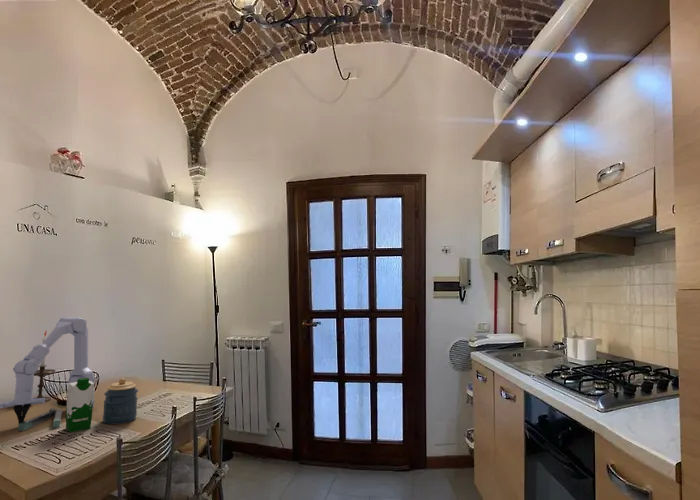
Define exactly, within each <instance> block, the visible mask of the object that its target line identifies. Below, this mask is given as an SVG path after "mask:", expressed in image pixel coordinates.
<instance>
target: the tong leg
mask: <svg viewBox="0 0 700 500" xmlns="http://www.w3.org/2000/svg"><path fill="white" fill-rule="evenodd" d="M51 415H52V412H49V411H46V412H44V413H42V414H39V415H37V416H33V417H32V418H30V419H28V420H26V419H25V420H24V422H21V423H18V425H17V432H18V431H20V432H21V431H22V432H24V431H26V430H28V429H31V428H32V427H34V426H38V425H39V424H41V423H43V422H46V421H47V420H50V419H52V417H51Z"/></svg>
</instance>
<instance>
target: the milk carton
mask: <svg viewBox="0 0 700 500" xmlns="http://www.w3.org/2000/svg"><path fill="white" fill-rule="evenodd" d="M94 388H95V382H94V383H93V382H92V381H89V378H80V379H77V382H74V383H69V384H68V388H67V396H66V408H65V428H66V430H67V431H68V432H69V433H76V432H81V431H84V430H90V429H91V425H92V420H93V419H92V418H93V409H94V405H93V397H94V398H95V391H94Z"/></svg>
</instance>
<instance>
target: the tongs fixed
mask: <svg viewBox="0 0 700 500" xmlns="http://www.w3.org/2000/svg"><path fill="white" fill-rule="evenodd" d="M48 412H52V415H51V418H53V423H52V429H56V428H57V429H58V427H59V428H60V427H61V420H62V416H63V408H57V409H55V408H54V407H52V408H50V409H49V410H48Z"/></svg>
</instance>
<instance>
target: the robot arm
mask: <svg viewBox="0 0 700 500" xmlns="http://www.w3.org/2000/svg"><path fill="white" fill-rule="evenodd" d="M67 334H70V335H72V336H73V337H74V338H73V340H74V346H73V347H74V350H73V351H74V354H73V357H74V358H73V361H74V362H73V364H74V365H73V370H72V371H71V372H70V373H69V377H68V385H69V383H74V382H77V379H80V378H89V381H92V382H93V383H94V384H95V379H96V378H95V376H94V371H93V370H92V369H91V368H89V329H88V327H87V320H86V319H84V318H83V317H69V316H63V317H61V318H59V320H58V321H57V322H55V327H54V328H53V330H52V331H51V332H50V333H49V334H48V336H46V339H45V341H44V342H43V343H42V342H41V343H40V344H36V345H33V347H32V349H31V350H30V352H28V354H26V355H25V356H24V357H23V359H20V360H18V361H17V362H16V363H15V365H14V367H13V368H12V370H13V372H14V374H15V388H14V400H9V401H3V402H0V409H4V408H12V407H13V411H14V413H15V415H16V417H17V421H18V424H19V423H21V422H24V421H25V420H26V416H27V414H28V411H29V410H30V408H31V407H32V405H39V404H42V405H43V404H45V403H46V402H45V398H37V397H33V392H34V380H35V376H34V373H35V372H36V371H37V370H39V369H40V367H39V366H40V364H41V361H42V360H43V359H44V358H45V357H47V355H49V354H50V351H51V350H50V348H52V346H53V345H54V344H55V343H56V342H57V341H58V340H59V339H60V338H62V337H63V336H64V335H67ZM94 392H95V387H94ZM95 403H96V402H95V396H94V397H93V406H94V404H95Z"/></svg>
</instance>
